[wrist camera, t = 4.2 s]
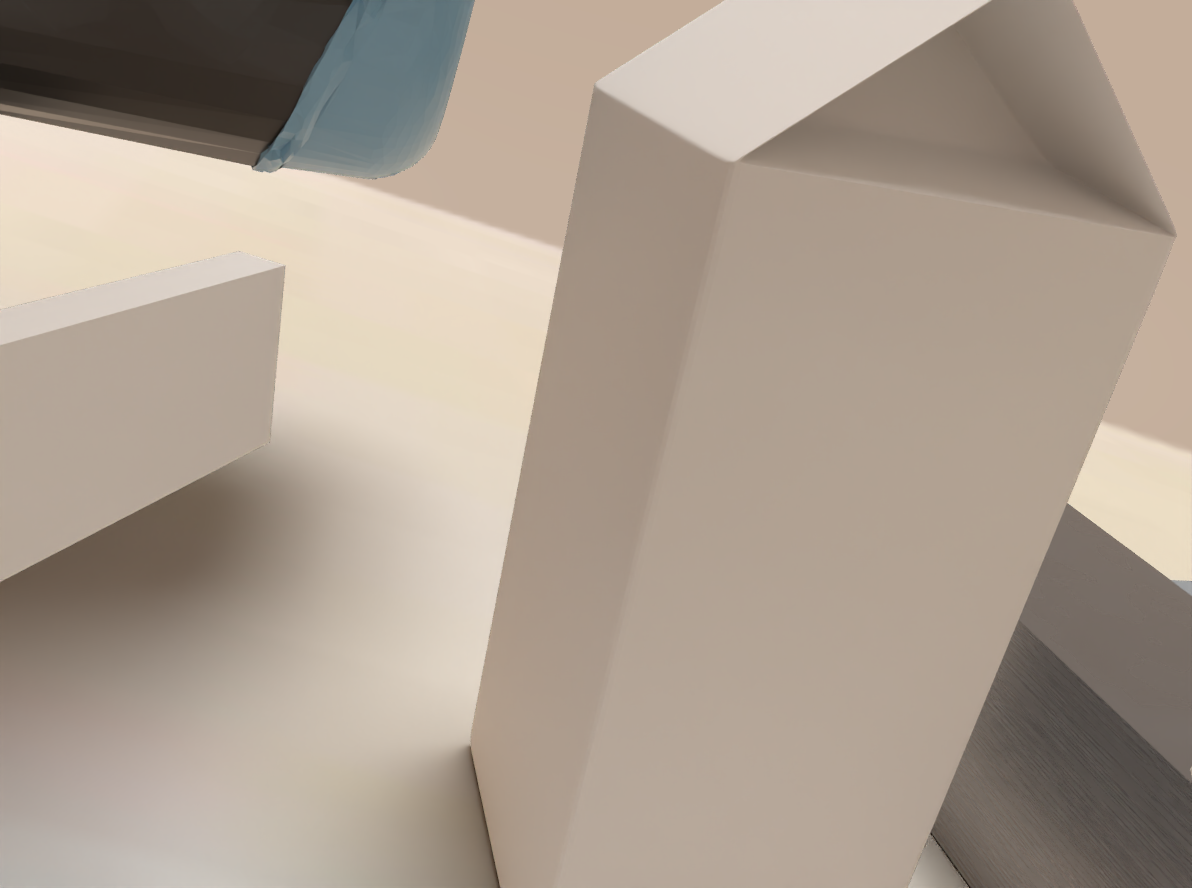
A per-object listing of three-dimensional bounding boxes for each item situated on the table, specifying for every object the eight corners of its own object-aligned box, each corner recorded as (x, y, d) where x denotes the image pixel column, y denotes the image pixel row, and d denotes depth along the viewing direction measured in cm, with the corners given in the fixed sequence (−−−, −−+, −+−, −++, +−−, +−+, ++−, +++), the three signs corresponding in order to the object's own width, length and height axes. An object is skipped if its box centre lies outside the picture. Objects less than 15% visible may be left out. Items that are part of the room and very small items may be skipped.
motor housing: (705, 536, 38) (757, 347, 35) (879, 544, 40) (940, 367, 37) (1201, 1246, 18) (1410, 933, 15) (1493, 1180, 20) (1721, 899, 17)
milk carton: (522, 1010, 19) (819, -209, 12) (466, 742, 25) (638, -167, 18) (873, 981, 21) (1310, -65, 14) (742, 740, 27) (997, -72, 20)
